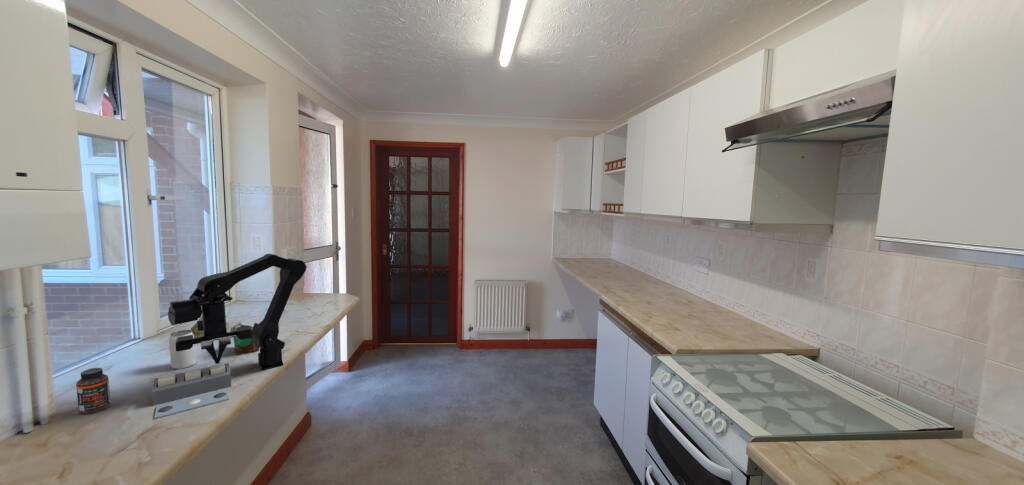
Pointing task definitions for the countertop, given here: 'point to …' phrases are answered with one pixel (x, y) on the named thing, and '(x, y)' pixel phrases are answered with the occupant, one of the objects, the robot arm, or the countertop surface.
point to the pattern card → (191, 403)
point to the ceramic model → (200, 333)
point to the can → (181, 357)
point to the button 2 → (217, 368)
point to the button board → (190, 385)
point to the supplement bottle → (93, 391)
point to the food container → (243, 342)
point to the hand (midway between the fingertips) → (217, 363)
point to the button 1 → (166, 380)
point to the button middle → (193, 374)
